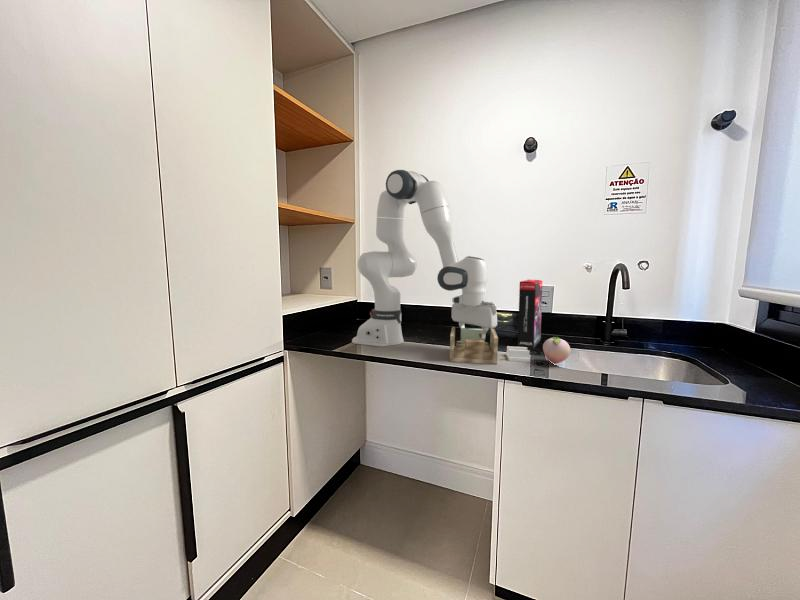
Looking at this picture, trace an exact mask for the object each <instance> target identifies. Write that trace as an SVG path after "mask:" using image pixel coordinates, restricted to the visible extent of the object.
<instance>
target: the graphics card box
mask: <svg viewBox="0 0 800 600" xmlns="http://www.w3.org/2000/svg"><path fill="white" fill-rule="evenodd" d="M518 291H519V294H518V296H519V298H518V300H519V301H518V326H517V327H518V331H517V347H527V349H535V347H536V346H537V345H538V344H539V342H540V341H541V338H542V335H541V333H542V308H543V307H542V306H543V280H540V279H526V280H525V279H524V280H521V281H519V290H518Z"/></svg>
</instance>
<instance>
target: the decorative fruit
mask: <svg viewBox="0 0 800 600" xmlns="http://www.w3.org/2000/svg"><path fill="white" fill-rule="evenodd" d="M542 350H543V353H544V356H545V357H546V358H547V360H549V361H550V362H551V363H553V364H554V365H556V364H559V363H562V362H564V361H566V360H567V359H568V358H569V356H570V355H571V346H570V345H569V343H568V341H566V340H564V339H562V338H560V337H558V335H555V336H553V337H550V338H548V339H546V340H545V341H544V343H543V344H542Z"/></svg>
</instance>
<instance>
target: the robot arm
mask: <svg viewBox="0 0 800 600" xmlns="http://www.w3.org/2000/svg"><path fill="white" fill-rule="evenodd" d="M416 203H417V206H418V208H419V212H420V213H419V214H420V217H421V221H422V223H423V226H424V229H425V230H426V233H427V234H428V235H429V236H430V237H431V238H432V239H433V241H434V242H435V243H436V246H437V249H438V252H439V256H440V261H441V262H442V268H441V269H440V270H439V272H438V273H437V278H436V279H437V283H438V285H439V286H440V287H441V289H443V290H445V291H448V292H451V291H456V290H461V293H462V294H461V295H456V296H454V297H452V299H451V301H452V305H451V319H452V321H453V322H457V323H458V327H459V328H460V330H461V328H466V327H465V324H468V325H471V326H476V327H477V326H478V327H481V329H482V330H483V331H482V333H480V334H479V338H482V339H485V340H486V334H487V332H489V329H495V328H497V326H498V313H497V305H496V304H495V303H494V302H493V301H487V289H486V286H487V282H488V272H487V271H488V270H487V268H488V267H487V263H486V261H485V260H484V259H482V258H480V257H474V256H470V255H468V256H465V257H464V258H462V259H461V260H460V261H459V259H458V256H457V253H456V252H457V251H456V247H455V245H454V240H453V226H452V225H453V223H452V214H451V209H450V205H449V201H448V198H447V195H446V191H445V189H444V188H443V185H442V184H441V183H440V182H439V181H436V180H429V179H428V178H427V177H426V176H425V175H423V174H421V173H418V172H415V171H408V170H405V169H395V170H393V171H391V172H389V174H388V176H387V178H386V180H385V190H384V191H382V192H381V193H380V195H379V198H378V203H377V210H376V227H375V229H376V230H375V234H376V235H375V236H376V238H378V240H379V241H380V242H382V243H384V244H385V245H386V246H387V251H378V250H377V251H368V252H363V253H362V254H360V256H359V258H358V260H357V268H358V271H359V273H360V275H362V276H363V277H364V278H365V279H366V280H367V281H368V282H369V283H370V285H371V288H372V290H373V297H374V308H372V309H371V310H370V311H369V315H370V318H369V319H367V320H366V321H365V322H364V323H362V324H361V325H360V326H359V327H358V330H357V333H356V336H354V337H353V338H351V343H352V344H353V345H354V344H356V345H364V346H371V347H373V346H374V347H383V348H384V347H389V346H395V345H396V346H397V345H400V344H403V343H404V341H405V340H404V337H403V332H402V325H401V324H402V309H401V292H400V290H399V289H398V288H397V287H396V286H393V285H391V284H390V282H389V278H404V277H409V276H413V274H414V273H415V272H416V270H417V265H418V264H417V260H416V257H415V256H414V254H412V253H411V252H410V251H409V249H408V248H407V246H406V243H405V239H404V215H405V213H404V212H405V207H406V206H407V204H409V205H413V204H416Z"/></svg>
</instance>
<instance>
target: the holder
mask: <svg viewBox="0 0 800 600" xmlns="http://www.w3.org/2000/svg"><path fill="white" fill-rule="evenodd" d="M505 352H506V353H505V355H506V358H507V360H508V361H509V362H522V363H523V362H524V363H531V358H530V355H531V353H530V352H531V351H530V349H529V350H528V348H527V347H518V346H509V345H507V346H506V351H505Z"/></svg>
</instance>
